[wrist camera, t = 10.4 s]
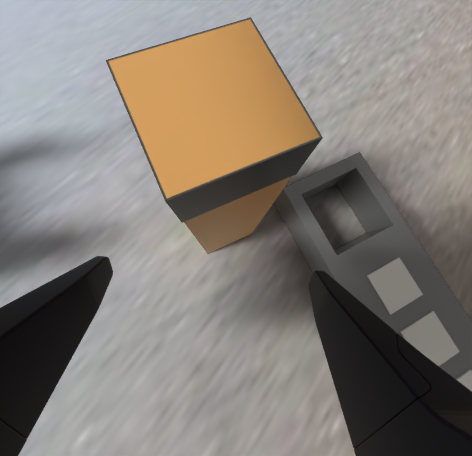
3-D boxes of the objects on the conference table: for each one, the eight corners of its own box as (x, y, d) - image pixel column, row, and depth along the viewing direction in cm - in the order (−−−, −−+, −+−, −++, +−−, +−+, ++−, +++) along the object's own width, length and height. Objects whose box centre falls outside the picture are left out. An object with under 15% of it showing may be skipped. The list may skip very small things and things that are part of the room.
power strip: (508, 435, 16) (583, 478, 13) (436, 493, 15) (497, 556, 12) (339, 170, 20) (362, 149, 16) (273, 201, 19) (284, 186, 15)
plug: (252, 234, 18) (322, 137, 5) (207, 254, 17) (165, 201, 5) (231, 191, 19) (250, 17, 6) (187, 210, 18) (105, 60, 5)
